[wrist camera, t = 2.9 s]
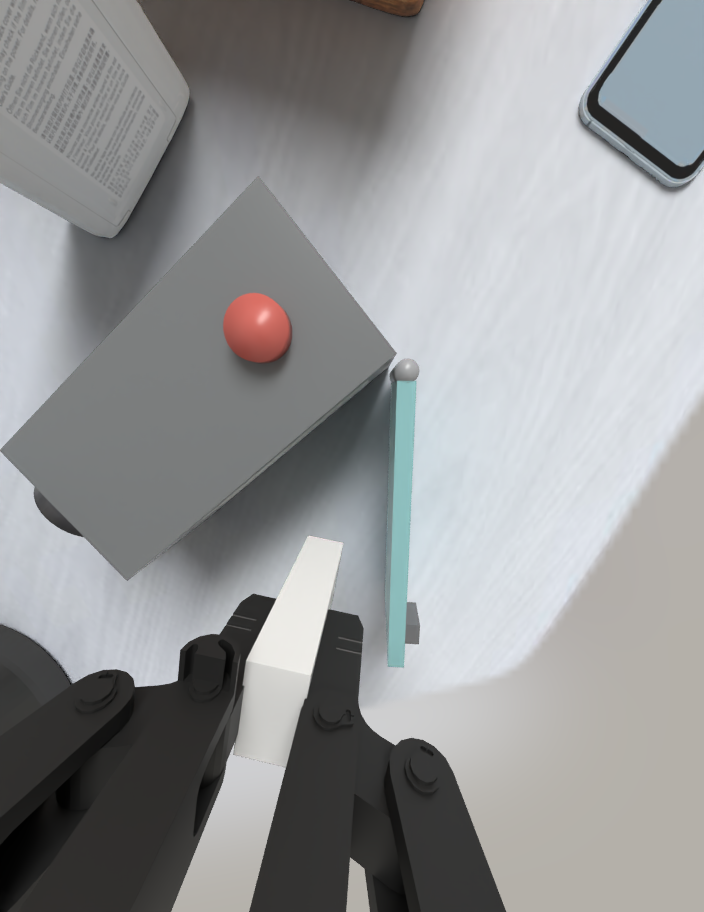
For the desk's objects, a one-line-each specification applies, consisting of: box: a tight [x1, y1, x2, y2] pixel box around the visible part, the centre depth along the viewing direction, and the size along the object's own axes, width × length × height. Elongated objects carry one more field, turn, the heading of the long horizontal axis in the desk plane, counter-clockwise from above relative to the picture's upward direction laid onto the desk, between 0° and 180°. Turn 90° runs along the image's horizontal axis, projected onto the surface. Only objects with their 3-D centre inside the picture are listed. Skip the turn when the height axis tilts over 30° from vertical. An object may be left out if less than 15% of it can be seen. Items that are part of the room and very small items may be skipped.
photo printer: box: [0, 0, 190, 238], centre depth 13 cm, size 10×4×12 cm, turn 143°
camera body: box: [0, 176, 397, 580], centre depth 18 cm, size 19×8×9 cm, turn 130°
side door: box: [385, 359, 420, 667], centre depth 18 cm, size 15×2×6 cm, turn 0°
